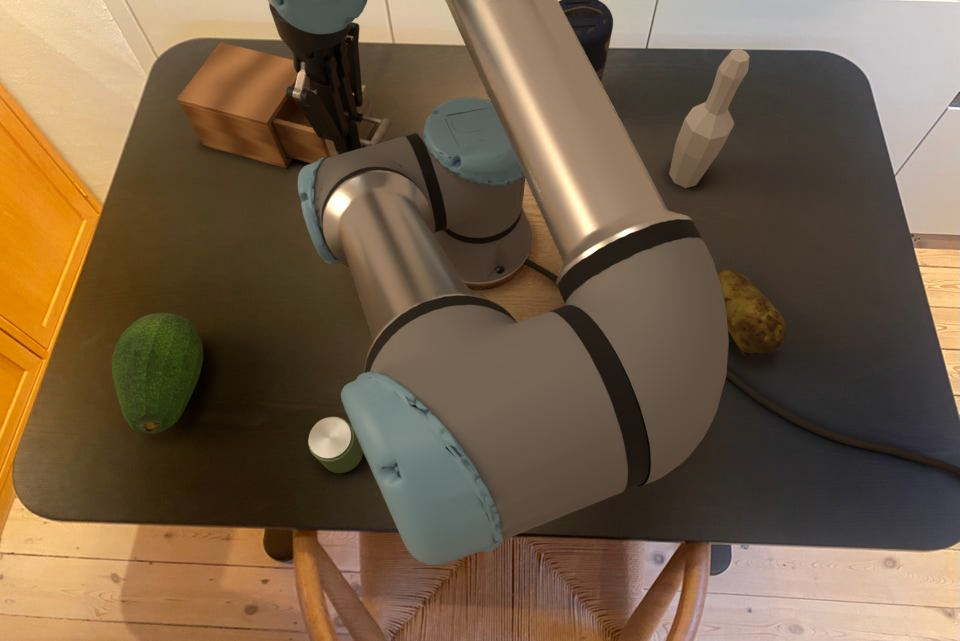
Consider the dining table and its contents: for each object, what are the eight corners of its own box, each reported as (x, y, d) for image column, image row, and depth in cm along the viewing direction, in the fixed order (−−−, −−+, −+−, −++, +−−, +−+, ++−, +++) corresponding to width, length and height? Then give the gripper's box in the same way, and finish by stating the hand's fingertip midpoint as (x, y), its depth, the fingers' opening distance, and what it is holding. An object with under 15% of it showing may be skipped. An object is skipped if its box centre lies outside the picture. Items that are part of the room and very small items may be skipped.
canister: (591, 133, 97) (613, 35, 80) (533, 124, 97) (542, 25, 81) (598, 90, 101) (620, -11, 85) (542, 82, 102) (553, -19, 86)
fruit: (203, 442, 74) (164, 417, 65) (122, 443, 74) (72, 419, 65) (223, 331, 81) (191, 295, 72) (149, 333, 81) (107, 297, 72)
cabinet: (321, 111, 99) (306, 63, 90) (286, 168, 94) (266, 122, 85) (242, 91, 101) (220, 41, 92) (203, 145, 96) (176, 98, 87)
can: (370, 438, 74) (360, 423, 69) (352, 479, 72) (341, 466, 66) (331, 425, 75) (319, 409, 69) (313, 465, 73) (298, 451, 67)
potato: (765, 286, 84) (791, 255, 77) (769, 372, 78) (798, 347, 71) (704, 278, 84) (725, 246, 77) (704, 362, 79) (726, 336, 72)
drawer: (402, 131, 96) (396, 93, 89) (374, 185, 91) (365, 149, 84) (298, 104, 98) (284, 65, 91) (265, 155, 94) (247, 118, 87)
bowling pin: (655, 172, 93) (701, 51, 73) (684, 153, 95) (737, 30, 75) (685, 199, 91) (741, 81, 71) (714, 178, 92) (777, 58, 73)
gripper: (303, -51, 63) (349, 121, 83) (237, 27, 57) (304, 190, 78) (369, -37, 61) (399, 134, 82) (308, 45, 56) (357, 206, 77)
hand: (353, 161), depth 80 cm, fingers closed
